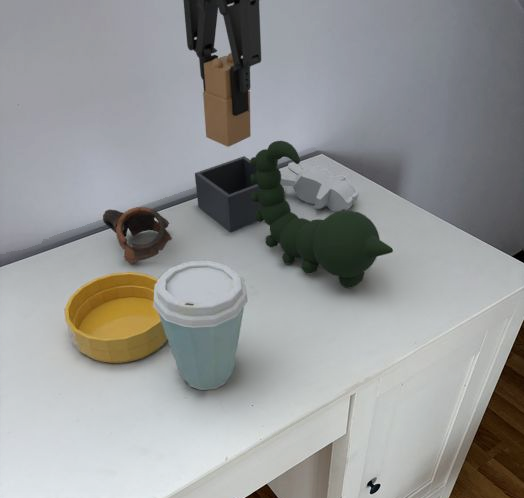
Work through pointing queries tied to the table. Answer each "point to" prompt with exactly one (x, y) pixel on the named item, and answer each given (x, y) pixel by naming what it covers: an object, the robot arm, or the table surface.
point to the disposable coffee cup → (202, 319)
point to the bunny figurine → (320, 187)
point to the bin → (228, 193)
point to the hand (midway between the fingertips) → (226, 107)
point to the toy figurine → (313, 226)
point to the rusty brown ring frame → (138, 231)
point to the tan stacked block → (222, 104)
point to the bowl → (116, 318)
